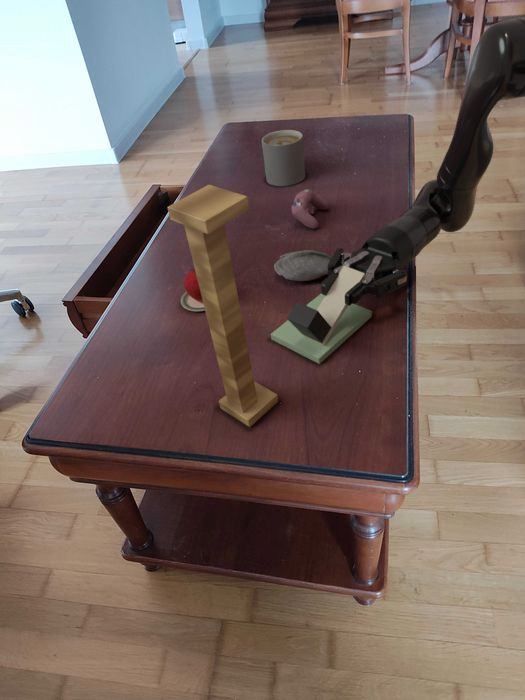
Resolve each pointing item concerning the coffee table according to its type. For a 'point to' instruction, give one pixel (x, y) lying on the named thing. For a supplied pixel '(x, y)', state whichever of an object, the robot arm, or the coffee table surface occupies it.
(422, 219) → the robot arm
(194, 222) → the stand
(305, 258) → the seashell
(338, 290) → the wooden mallet
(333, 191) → the coffee table surface
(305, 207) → the video game controller
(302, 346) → the pale green rectangular panel
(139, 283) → the coffee table surface
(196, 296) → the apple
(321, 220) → the coffee table surface
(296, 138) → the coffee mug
